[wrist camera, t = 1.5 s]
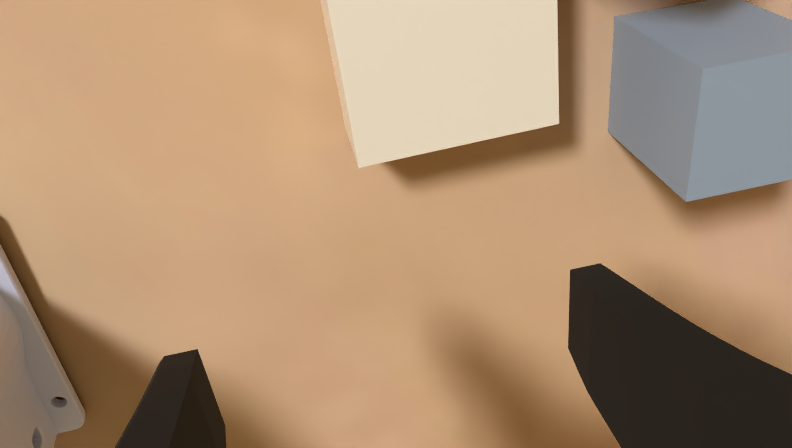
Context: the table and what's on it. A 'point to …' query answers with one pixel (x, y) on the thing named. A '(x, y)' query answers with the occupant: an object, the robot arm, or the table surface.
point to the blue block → (705, 95)
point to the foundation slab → (441, 72)
